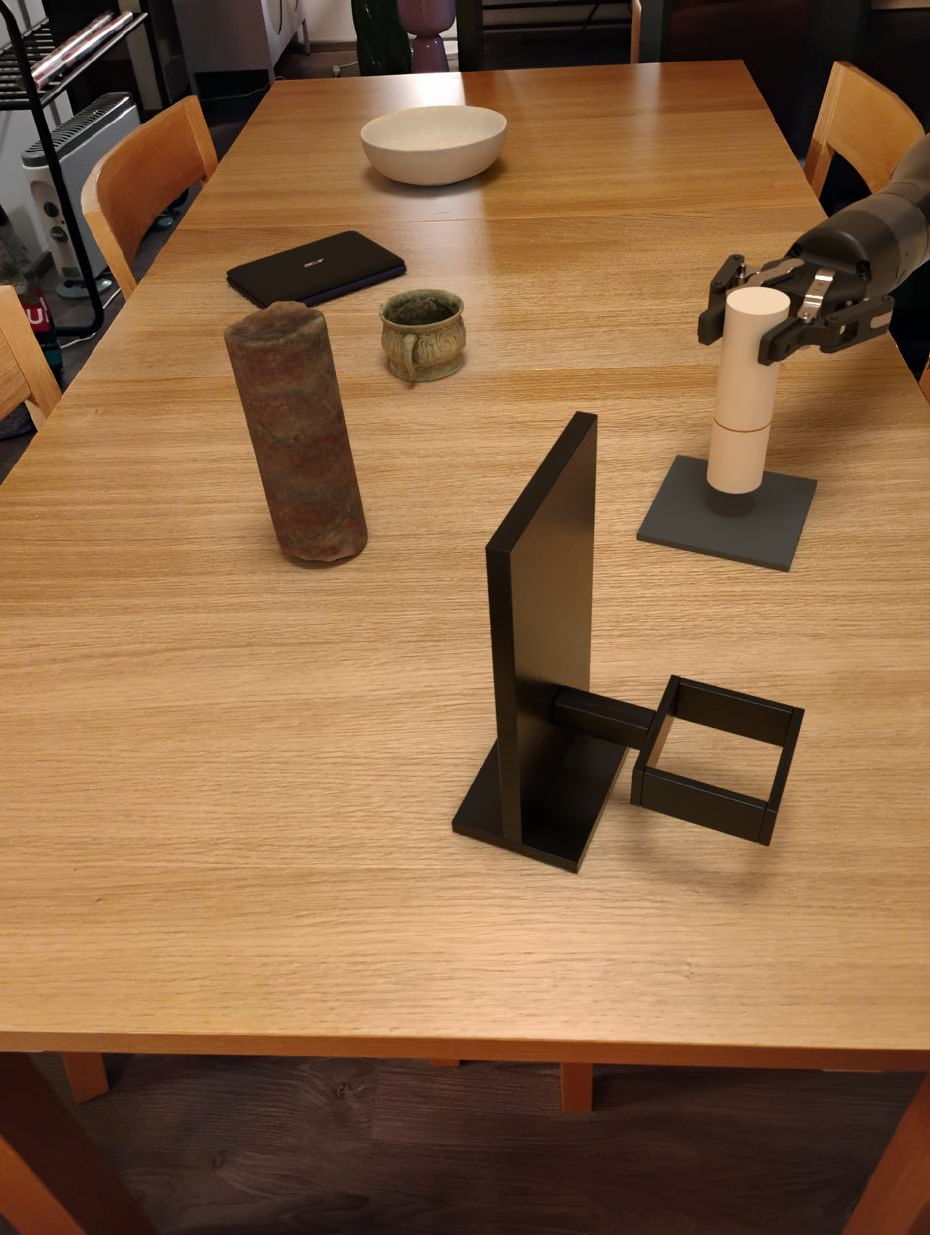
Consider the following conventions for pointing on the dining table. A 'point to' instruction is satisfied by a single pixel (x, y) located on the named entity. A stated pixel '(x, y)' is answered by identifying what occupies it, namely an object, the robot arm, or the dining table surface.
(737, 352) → the tube
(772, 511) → the mat
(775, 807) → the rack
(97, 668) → the dining table surface
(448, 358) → the vessel
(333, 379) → the candle
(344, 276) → the laptop
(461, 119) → the serving bowl
